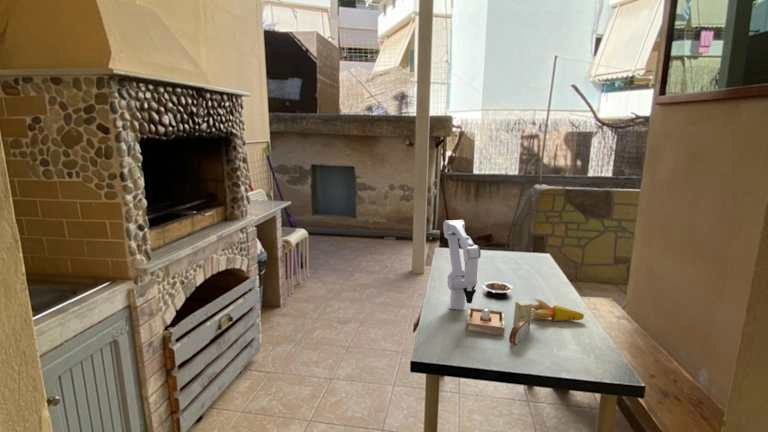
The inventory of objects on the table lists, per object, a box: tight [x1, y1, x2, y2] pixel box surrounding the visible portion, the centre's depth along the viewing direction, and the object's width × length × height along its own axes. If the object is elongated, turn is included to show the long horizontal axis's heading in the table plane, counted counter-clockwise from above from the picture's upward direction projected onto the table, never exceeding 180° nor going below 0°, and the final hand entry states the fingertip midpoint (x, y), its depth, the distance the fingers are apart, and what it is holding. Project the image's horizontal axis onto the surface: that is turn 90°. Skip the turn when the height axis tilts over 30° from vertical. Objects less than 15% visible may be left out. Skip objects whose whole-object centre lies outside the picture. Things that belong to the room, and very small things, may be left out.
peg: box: [481, 307, 491, 322], centre depth 188 cm, size 4×4×7 cm
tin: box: [508, 318, 528, 346], centre depth 175 cm, size 15×3×8 cm, turn 141°
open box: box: [466, 306, 505, 337], centre depth 188 cm, size 16×16×4 cm
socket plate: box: [472, 311, 499, 326], centre depth 189 cm, size 12×12×2 cm
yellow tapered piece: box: [531, 298, 585, 322], centre depth 194 cm, size 8×8×25 cm
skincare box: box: [512, 299, 534, 330], centre depth 185 cm, size 6×4×12 cm
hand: (469, 299), depth 191 cm, fingers open, 7 cm apart
